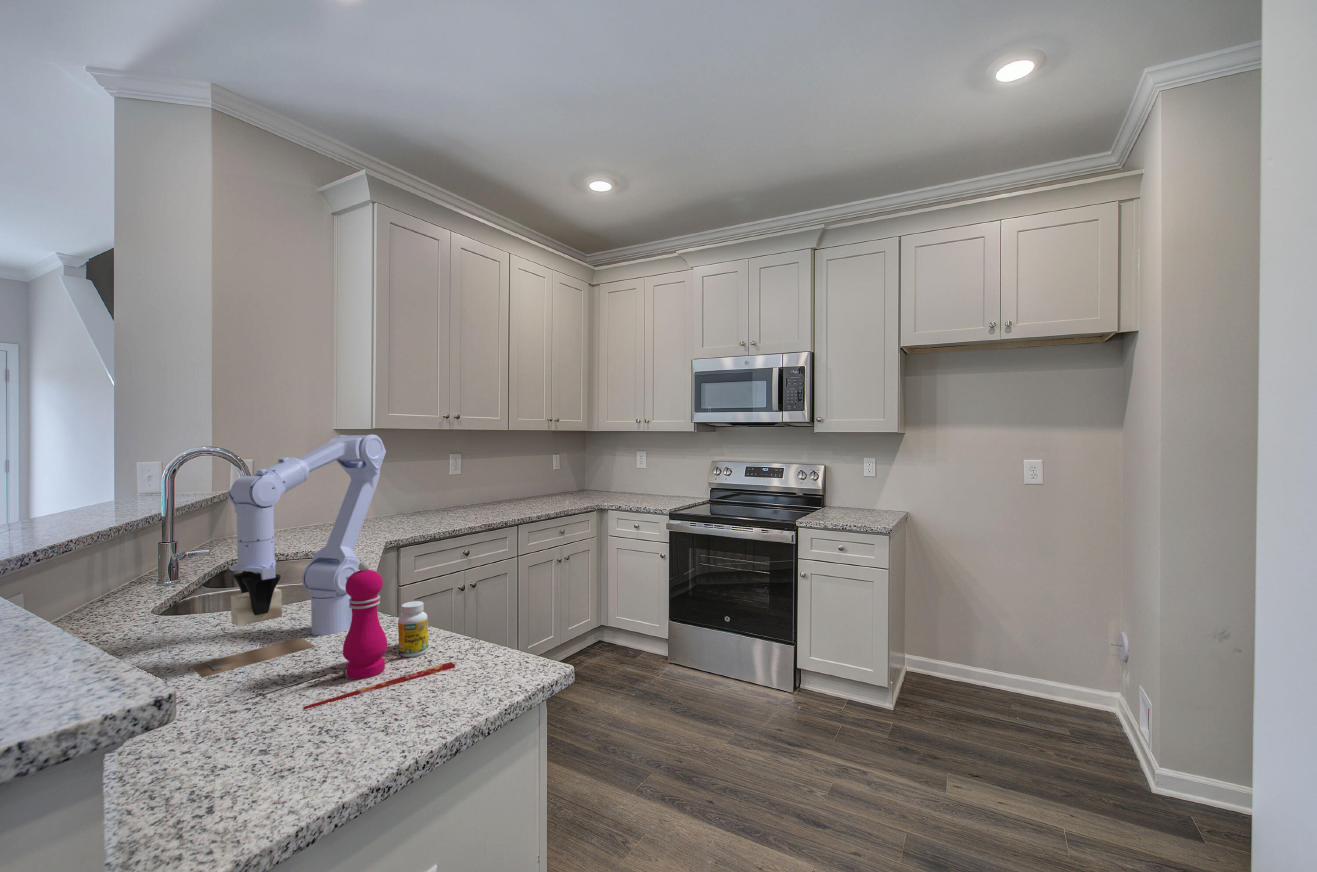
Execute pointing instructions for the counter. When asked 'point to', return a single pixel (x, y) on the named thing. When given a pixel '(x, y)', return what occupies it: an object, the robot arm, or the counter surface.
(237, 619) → the cap
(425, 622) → the supplement bottle
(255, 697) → the slate mat
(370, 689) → the chopstick
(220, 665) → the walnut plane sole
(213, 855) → the counter surface
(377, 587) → the pepper mill
